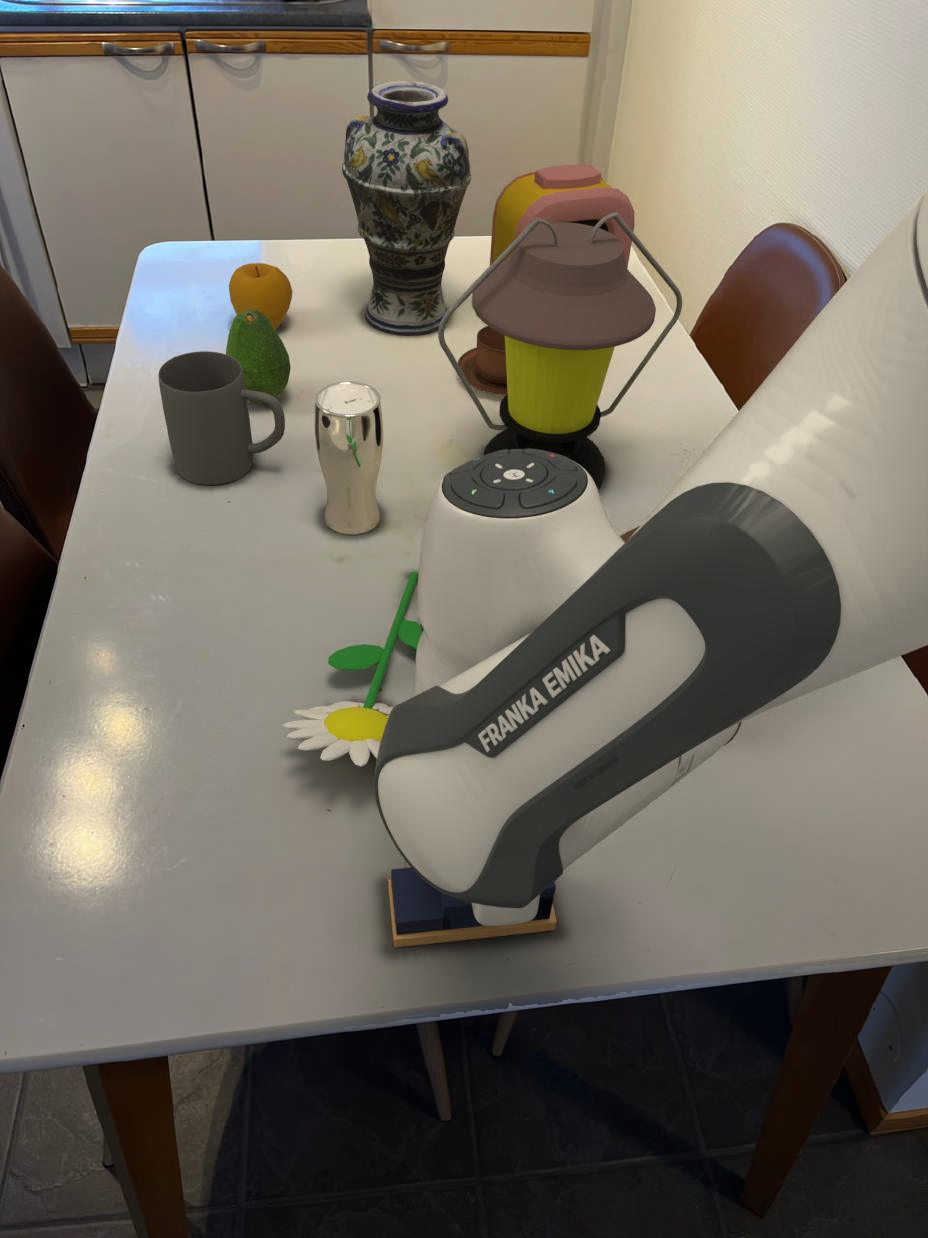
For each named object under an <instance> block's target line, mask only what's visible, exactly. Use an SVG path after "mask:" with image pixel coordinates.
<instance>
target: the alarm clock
mask: <svg viewBox="0 0 928 1238" xmlns="http://www.w3.org/2000/svg"><path fill="white" fill-rule="evenodd" d="M614 212H617V213H618V214H619V215H620V217H621V218H622V219H623V220H624V222H625V223H626V224H627V225H628V227H629V228H630V229H631V230H632V232H633V233H634V231H635V209H634V208H633V205H632V202H631V200H630V198H629V196H628V195H626V194H625V193H624V192H623V191H621V190H620V189H619V188H616V187H615V188H614V187H612V186H611V185H610V184H609V183H607V182H606V181H604V179H603V177H602V173H601V171H600V170H599V169H597V168H596V167H595V166H593V165H592V164H561V165H554V166H549V167H543V168H539V169H536V170H535V171H530V172H527V173H524V174H520V175H518V176H516V177H515V178H513V179H512V180H511V181H510V182H509V183H507V184H506V185H504V188H503V189H502V190H501V192H500V194H499V195H498V196H497V198H496V200H495V205H494V209H493V213H492V225H491V237H490V238H491V239H490V240H491V241H490V253H489V266H490V265H491V264H492V263H493V262H494V261H495V260H496V259H497V258H498V257H499V256H500V255H501V254H502V253H503V252H504V251H505V250H506V249H507V248H508V247H509V246H510V244H511V243H512V242H513V241H514V240H515V239H516V238H517V237H518V236H519V235H520V234H521V233H522V232H523V231H524V230H525V229H526V228H527V227H528V226H529V225H530V224H531V223H532V222H533V220H534V219H535V218H540V219H543V220H546V221H547V222H549V223H557V222H565V223H577V224H584V225H589V226H593V227H595V225H596V224H597V223H598V222H599V221H600V220H601V219H602V218H604V217H605V216H607V215H609V214H611V213H614ZM540 224H543V223H539V224H538V225H540ZM599 228H600V229H602V230H605V231H607V232H609V233H611V234H613V235H614V236H616V237H617V238H618V239H619V240H620V241H621V242H622V244H623V248H624V255H625V261H626V267H627V269H628V268H629V262H630V255H631V250H632V243H633V241H632V240H631V239H630V238H629V236H628V235H627V234H626V233H625V231H624V230H623V229H622V228H621V227H620V225H619V224H618V223H617V222H616V220H615V219H614V218H610V219H609V220H607V221H606V222H604V223H603V224H602V225H601V226H600V227H599ZM513 251H514V250H513ZM513 251H512V252H511V253H510V254H509V255H508V256H507V257H506V258H505V260H504V261H506V260H507V259H508V258H510V257H511V255H512V253H513ZM504 261H503V262H504ZM503 262H502V263H503Z"/></svg>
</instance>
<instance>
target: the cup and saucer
mask: <svg viewBox="0 0 928 1238" xmlns="http://www.w3.org/2000/svg"><path fill="white" fill-rule="evenodd" d="M457 363H458V365H459V366H460V368H461V370H462V372H463V373H464V375H465V377H466V379H467V380H468V382H469V384H470V385H471V387H472V388H473V387H474V388H476V389H478V390H479V391H483V392H486V393H491V394H494V395H495V394H497V395H507V394H508V390H507V370H506V350H505V335H503V334H501V333H499V332H497V331H495V330H493V329H492V328H490V327H489V326H488V325H486V326H484V327H482V328H481V329H479V330H478V332H477V333H476V347H473V348H471V349H469V350H467V351H466V352H464V353H462V355H460V357H459V358H458V361H457Z"/></svg>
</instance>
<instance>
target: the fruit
mask: <svg viewBox="0 0 928 1238" xmlns="http://www.w3.org/2000/svg"><path fill="white" fill-rule="evenodd" d="M225 350H226V351H225V354H226V355H229V356H231V357H233V358H234V359H236V360H237V361H238V362H239V363H240V365H241V367H242V370H243V375H244V381H245V387H246V390H252V391H258V392H263V393H266V394H269V395H272V396H274V397H275V398H276V399H278V397H280V396H281V395H282V394H283V392H284V391H285V389H286V387H287V385H288V383H289V379H290V374H291V369H292V368H291V361H290V355H289V353H288V351H287V348H286V346H285V344H284V341H283V340H282V339H281V337H280V336H279V334H278V332H277V329H274V327H273V326H272V324H271V323H270V321H269V319H268V318H267V317H266V316H264V315H263V314H262V313H261V312H259V311H257V310H246V311H244V312H241V313H239V314H235V316H234V318H233V319H232V322H231V325H230V327H229V332H228V336H227V342H226V348H225ZM247 402H248V403H250V404H251V403H252V404H255V405H258V404H265V403H264V402H260V401H254V400H247Z"/></svg>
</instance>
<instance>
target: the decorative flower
mask: <svg viewBox="0 0 928 1238" xmlns="http://www.w3.org/2000/svg"><path fill="white" fill-rule="evenodd" d="M418 573H419V572H417V571H411V572H410V575H409V577H408V580H407V583H406V586H405V589H404V592H403V594H402V597H401V600H400V602H399V604H398V605H399V606H398V608H397V611H396V613H395V616H394V620H393V622H392V625H391V628H390V631H389V632H388V633H389V634H388V636H387V639H386V641H385V645H384V647H382V646H381V645H378V644H377V645H376V644H367V643H364V644H355V645H350V646H347V647H344V648H341V649H338V650H336V651H334V652H333V653H332V654H331V655H330V656H329V657H328V661H327V664H328V666H331V668H333V669H335V670H341V671H357V670H363V669H364V670H365V669H367V668H370V667H373V666H376V665H377V667H376V669H375V672H374V675H373V678H372V682H371V684H370V687H369V689H368V692H367V695H366V698H365V701H364V702H359V701H356V702H355V701H351V700H347V701H344V700H343V701H342V700H341V701H338V702H333V703H332V704H331V705H318V706H314V707H310V708H309V709H295V710H293V711H292V712H293V713H294V714H295V715H297V716H299V717H301V718H303V719H298V720H292V721H287V722H284V724H282V726H283V727H285V728H286V729H292V730H293V731H291V732H289V733H288V734H287V736H286V738H290V739H294V740H295V739H298V740H303V739H304V740H303V741H302V742H301V743H300V744H299V745H298V746H297V748H298V750H301V751H315V750H320V749H323V748H324V749H323V750H322V752H321V754H320V757H319V758H320V759H321V760H322V761H328V762H330V761H333V760H336V759H339V758H341V757H343V756H344V755H346V754H347V753H349V757H350V760H351V761H352V763H353V764H354V765H355V766H359V767H363V766H366V765H367V764H368V762H369V760H370V756H371V754H372V756H374V758H375V759H377V756H378V751H379V746H380V742H381V739H382V736H383V732H384V729H385V726H386V723H387V720H388V718H389V715H390V713H391V710H392V709H393V708H394V707H395V706H389V705H388V704H386V703H382V702H377V703H376V699H377V696H378V693H379V691H380V688H381V685H382V682H383V680H384V676H385V673H386V672H387V671H386V670H387V667H388V665H389V662H390V659H391V656H392V653H393V651H394V647H395V645H396V641H397V639H399V640H400V641H401V642H402V643H404V644H405V645H407V646H409V647H411V648H412V649H414V650H416V651H417V646H418V643H419V640H420V637H421V623H419V622H418V621H413V620H408V619H404V618H405V616H406V612H407V609H408V607H409V604H410V602H411V598H412V596H413V592H414V590H415V586H416V584H417V582H418Z"/></svg>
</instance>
